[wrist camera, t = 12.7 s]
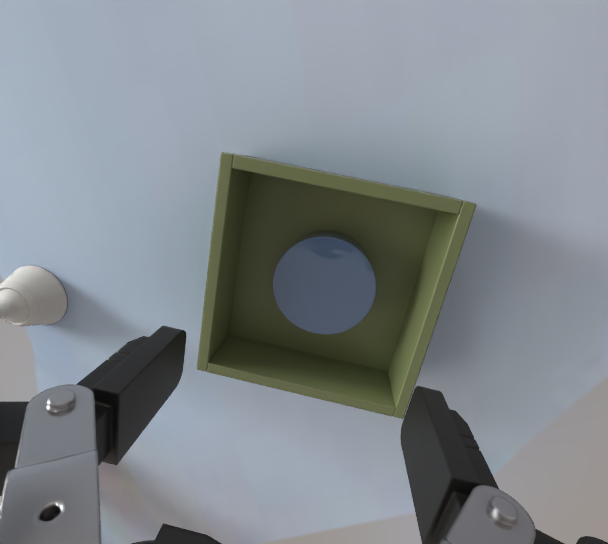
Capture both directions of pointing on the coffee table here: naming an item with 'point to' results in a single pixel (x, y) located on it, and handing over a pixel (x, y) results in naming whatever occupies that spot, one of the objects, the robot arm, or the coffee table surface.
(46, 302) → the chalice
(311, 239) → the blue round puck
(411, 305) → the tub
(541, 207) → the coffee table surface
